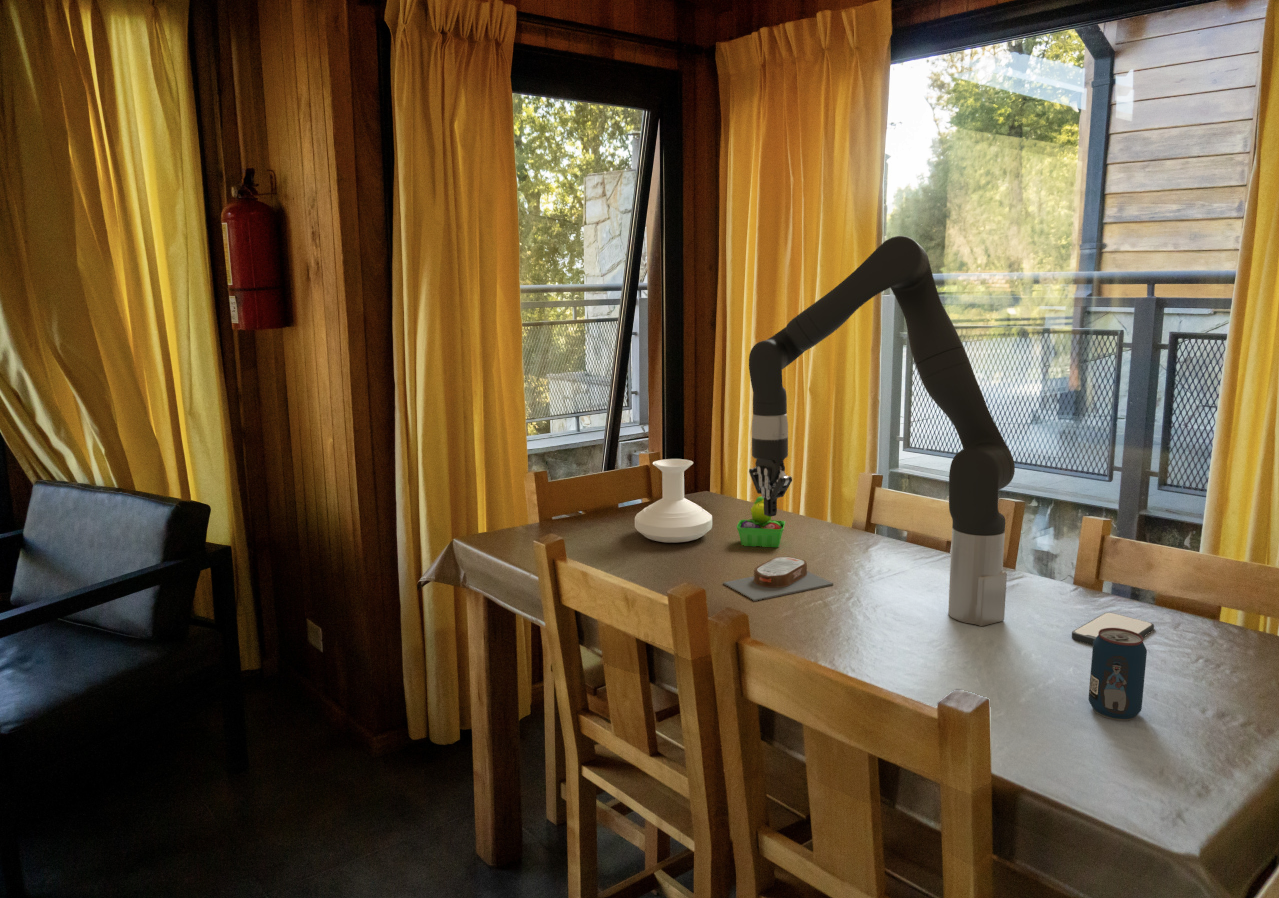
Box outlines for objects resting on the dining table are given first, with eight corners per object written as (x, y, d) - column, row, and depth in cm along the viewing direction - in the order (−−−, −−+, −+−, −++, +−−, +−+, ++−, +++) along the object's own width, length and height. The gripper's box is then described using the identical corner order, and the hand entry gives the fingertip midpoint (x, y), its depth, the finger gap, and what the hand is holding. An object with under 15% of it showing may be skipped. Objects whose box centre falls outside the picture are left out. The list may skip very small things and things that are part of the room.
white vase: (622, 532, 228) (620, 460, 225) (689, 522, 237) (689, 452, 233) (655, 552, 211) (654, 474, 207) (727, 541, 219) (727, 465, 215)
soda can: (1123, 699, 133) (1130, 625, 131) (1151, 722, 126) (1158, 643, 124) (1078, 701, 133) (1084, 626, 131) (1104, 723, 126) (1110, 645, 124)
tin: (746, 582, 187) (781, 593, 182) (747, 568, 186) (782, 578, 181) (779, 564, 198) (813, 573, 194) (780, 551, 198) (814, 560, 193)
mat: (833, 584, 186) (833, 583, 185) (754, 601, 177) (754, 599, 177) (799, 569, 196) (799, 567, 196) (723, 584, 188) (723, 582, 187)
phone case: (1105, 618, 166) (1068, 640, 156) (1106, 610, 166) (1068, 631, 156) (1156, 632, 160) (1120, 655, 149) (1157, 623, 159) (1121, 646, 149)
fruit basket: (736, 547, 214) (736, 502, 211) (740, 537, 222) (740, 493, 220) (783, 549, 211) (783, 504, 209) (785, 539, 219) (786, 495, 217)
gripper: (803, 437, 179) (803, 519, 182) (766, 429, 191) (766, 506, 194) (773, 441, 176) (773, 524, 179) (737, 433, 187) (738, 511, 190)
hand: (770, 515), depth 186 cm, fingers closed
